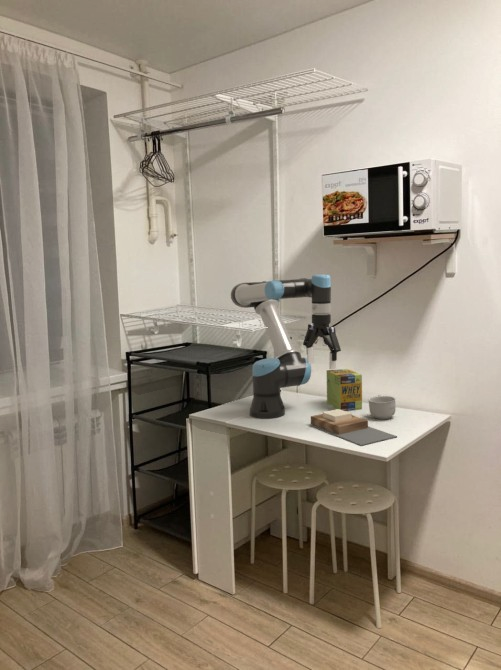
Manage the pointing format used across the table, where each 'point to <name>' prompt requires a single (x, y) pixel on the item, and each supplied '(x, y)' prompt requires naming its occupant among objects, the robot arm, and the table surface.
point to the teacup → (382, 406)
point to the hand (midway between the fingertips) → (321, 366)
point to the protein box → (344, 389)
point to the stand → (340, 424)
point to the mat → (361, 435)
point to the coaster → (337, 415)
